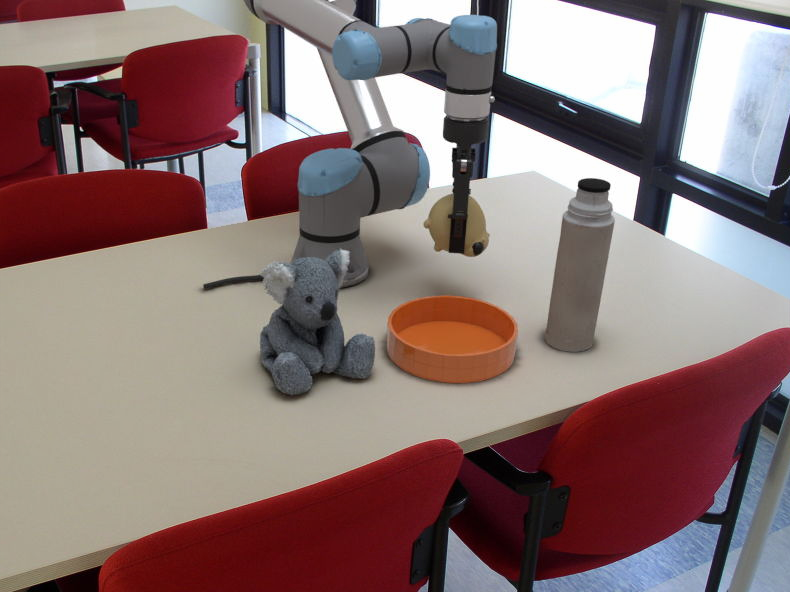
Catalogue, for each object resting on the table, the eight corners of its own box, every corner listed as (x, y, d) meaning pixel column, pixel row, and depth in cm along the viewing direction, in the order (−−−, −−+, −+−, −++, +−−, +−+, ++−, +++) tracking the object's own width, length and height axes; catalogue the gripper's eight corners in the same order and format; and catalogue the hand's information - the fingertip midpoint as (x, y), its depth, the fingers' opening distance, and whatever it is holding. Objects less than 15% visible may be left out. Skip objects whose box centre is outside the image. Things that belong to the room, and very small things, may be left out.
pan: (382, 378, 144) (383, 350, 141) (391, 317, 162) (392, 292, 159) (517, 387, 141) (521, 359, 139) (511, 324, 159) (514, 299, 157)
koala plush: (283, 404, 137) (280, 287, 127) (236, 352, 151) (230, 243, 141) (381, 377, 144) (385, 264, 134) (328, 330, 158) (329, 224, 148)
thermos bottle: (547, 326, 159) (570, 171, 144) (594, 333, 156) (622, 176, 142) (542, 347, 152) (565, 187, 138) (590, 355, 150) (619, 193, 135)
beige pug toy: (449, 279, 161) (497, 248, 155) (408, 226, 159) (455, 193, 153) (462, 257, 169) (508, 227, 163) (423, 206, 167) (468, 174, 160)
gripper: (491, 135, 141) (478, 267, 153) (488, 99, 160) (477, 219, 172) (442, 134, 142) (433, 265, 154) (445, 98, 161) (437, 217, 172)
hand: (456, 240), depth 163 cm, fingers closed on beige pug toy, 10 cm apart
